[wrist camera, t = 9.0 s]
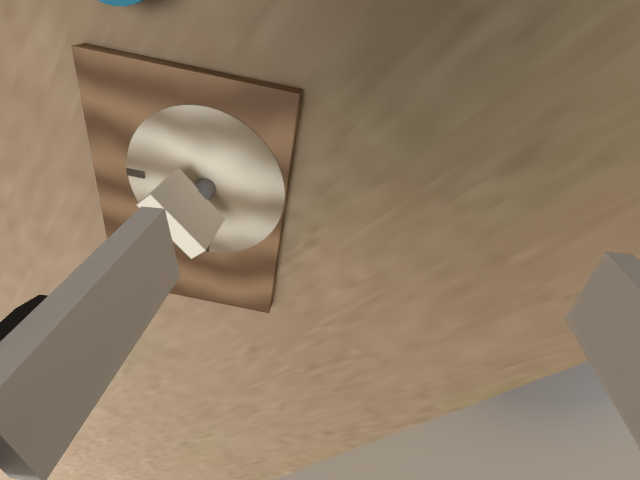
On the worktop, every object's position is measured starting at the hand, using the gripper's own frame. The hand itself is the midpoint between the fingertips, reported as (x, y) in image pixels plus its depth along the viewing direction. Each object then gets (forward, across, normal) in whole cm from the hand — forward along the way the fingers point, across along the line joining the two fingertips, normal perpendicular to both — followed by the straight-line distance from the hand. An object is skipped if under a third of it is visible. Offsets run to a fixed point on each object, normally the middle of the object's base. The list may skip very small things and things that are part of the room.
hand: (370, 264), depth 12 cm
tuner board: (+28, -20, -15) cm, 38 cm away
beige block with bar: (+26, -20, -15) cm, 36 cm away
